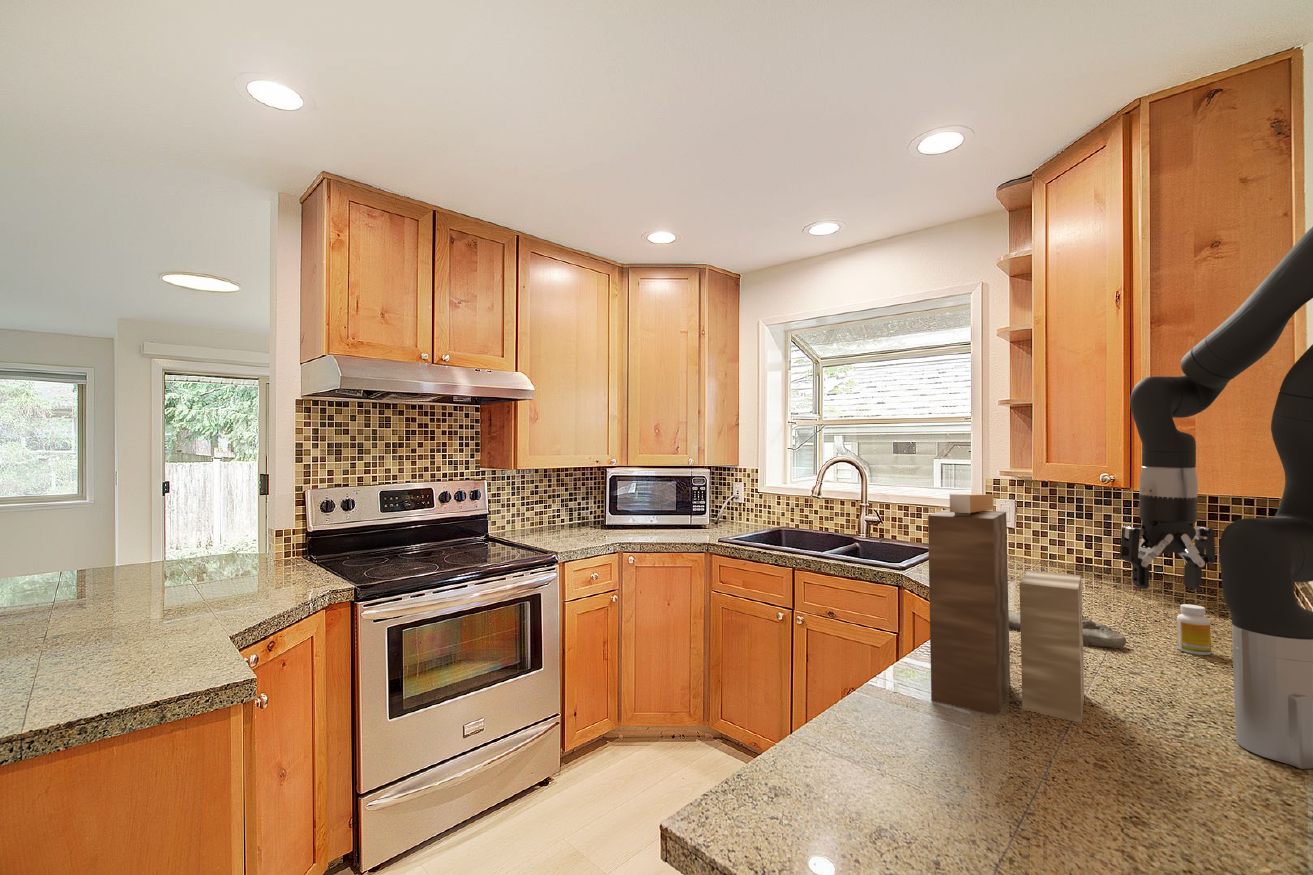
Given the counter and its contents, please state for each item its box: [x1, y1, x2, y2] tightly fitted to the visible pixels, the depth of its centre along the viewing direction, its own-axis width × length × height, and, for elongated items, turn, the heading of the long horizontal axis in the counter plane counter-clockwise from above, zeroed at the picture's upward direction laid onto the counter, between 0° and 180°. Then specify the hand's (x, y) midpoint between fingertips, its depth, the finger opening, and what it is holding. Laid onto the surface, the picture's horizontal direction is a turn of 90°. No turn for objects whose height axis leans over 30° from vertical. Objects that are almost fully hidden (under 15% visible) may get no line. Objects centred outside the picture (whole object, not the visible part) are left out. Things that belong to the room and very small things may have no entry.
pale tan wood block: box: [949, 493, 994, 513], centre depth 110 cm, size 26×3×3 cm, turn 142°
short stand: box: [1019, 569, 1085, 724], centre depth 102 cm, size 14×8×21 cm, turn 143°
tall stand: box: [927, 508, 1011, 716], centre depth 106 cm, size 16×10×33 cm, turn 143°
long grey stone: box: [1009, 610, 1127, 649], centre depth 143 cm, size 35×5×10 cm
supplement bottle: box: [1176, 603, 1212, 656], centre depth 127 cm, size 5×5×10 cm
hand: (1166, 587), depth 101 cm, fingers open, 8 cm apart
